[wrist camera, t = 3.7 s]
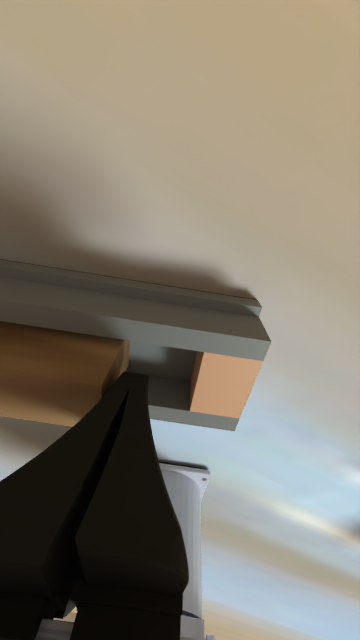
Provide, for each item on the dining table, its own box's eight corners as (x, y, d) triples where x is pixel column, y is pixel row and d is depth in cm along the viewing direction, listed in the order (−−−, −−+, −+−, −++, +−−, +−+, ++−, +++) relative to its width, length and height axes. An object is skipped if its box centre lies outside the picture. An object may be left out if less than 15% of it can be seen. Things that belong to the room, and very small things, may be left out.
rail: (225, 394, 18) (231, 437, 15) (-65, 351, 17) (-121, 385, 14) (257, 300, 14) (275, 331, 11) (-116, 241, 13) (-210, 255, 10)
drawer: (129, 363, 15) (102, 431, 11) (9, 344, 15) (-67, 406, 11) (130, 325, 14) (101, 386, 10) (-2, 304, 14) (-94, 356, 9)
